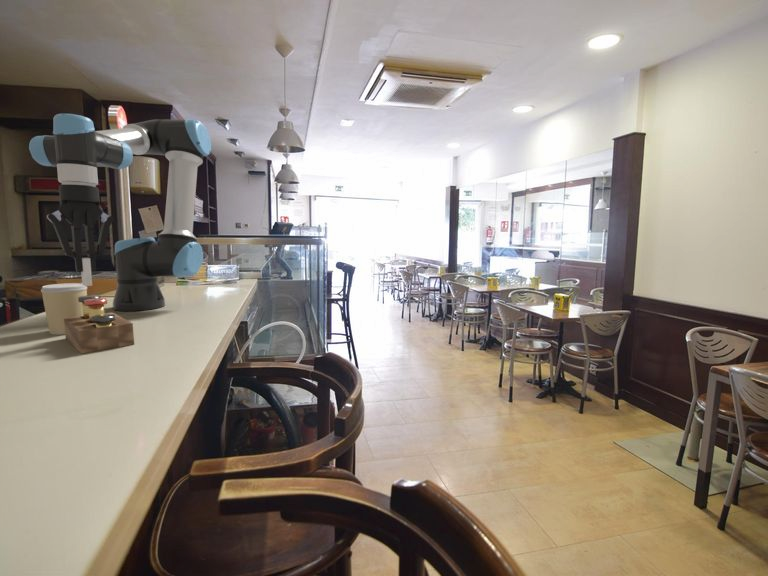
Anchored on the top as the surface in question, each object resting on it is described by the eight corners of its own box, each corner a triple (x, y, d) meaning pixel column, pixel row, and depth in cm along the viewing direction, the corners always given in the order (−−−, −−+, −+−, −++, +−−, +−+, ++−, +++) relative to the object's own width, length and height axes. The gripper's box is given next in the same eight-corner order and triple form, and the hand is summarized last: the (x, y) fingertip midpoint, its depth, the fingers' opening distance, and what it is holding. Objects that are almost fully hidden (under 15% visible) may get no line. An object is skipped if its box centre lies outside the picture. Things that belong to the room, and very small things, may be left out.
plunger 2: (114, 340, 94) (112, 313, 93) (119, 344, 91) (117, 316, 90) (91, 344, 91) (89, 316, 90) (96, 348, 88) (93, 319, 87)
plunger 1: (100, 320, 102) (97, 294, 101) (104, 322, 99) (102, 296, 98) (78, 322, 99) (76, 296, 98) (82, 325, 96) (80, 298, 95)
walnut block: (114, 331, 104) (112, 312, 104) (134, 344, 93) (132, 323, 92) (65, 338, 97) (63, 318, 97) (81, 353, 86) (79, 330, 85)
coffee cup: (99, 327, 109) (95, 283, 107) (69, 336, 99) (64, 288, 98) (68, 326, 109) (63, 282, 108) (35, 334, 100) (30, 287, 99)
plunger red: (106, 323, 98) (104, 297, 97) (111, 327, 95) (109, 299, 94) (84, 326, 95) (81, 299, 94) (88, 330, 92) (86, 302, 91)
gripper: (107, 188, 101) (114, 281, 104) (40, 183, 92) (50, 285, 95) (115, 186, 96) (122, 284, 99) (45, 180, 87) (55, 289, 90)
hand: (87, 285), depth 97 cm, fingers closed
